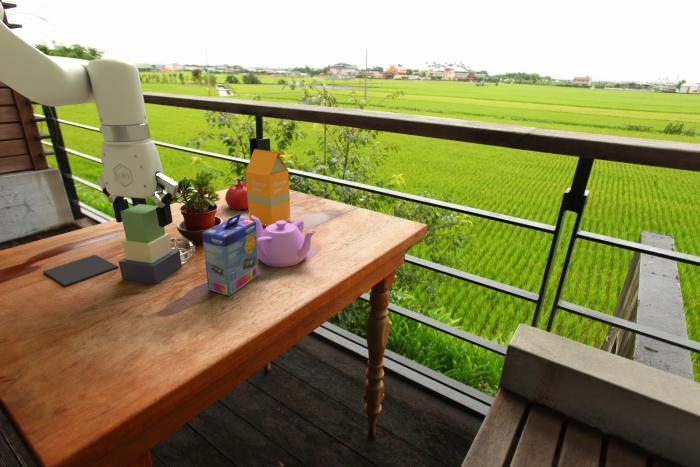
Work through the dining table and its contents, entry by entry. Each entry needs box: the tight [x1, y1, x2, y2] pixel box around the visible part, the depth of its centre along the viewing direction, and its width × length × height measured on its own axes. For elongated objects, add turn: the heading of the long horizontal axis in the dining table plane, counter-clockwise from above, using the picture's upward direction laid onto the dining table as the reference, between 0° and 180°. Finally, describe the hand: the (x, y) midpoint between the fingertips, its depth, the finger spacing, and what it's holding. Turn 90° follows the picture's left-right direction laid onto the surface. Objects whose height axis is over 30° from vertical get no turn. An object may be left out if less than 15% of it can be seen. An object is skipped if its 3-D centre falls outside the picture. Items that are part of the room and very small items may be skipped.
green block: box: [121, 203, 166, 243], centre depth 76 cm, size 5×5×6 cm
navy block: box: [117, 248, 183, 285], centre depth 80 cm, size 8×8×4 cm
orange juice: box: [245, 148, 291, 227], centre depth 107 cm, size 8×9×20 cm
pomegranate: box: [224, 178, 248, 211], centre depth 120 cm, size 10×10×9 cm
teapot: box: [251, 215, 317, 268], centre depth 87 cm, size 12×14×9 cm
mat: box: [42, 254, 119, 288], centre depth 81 cm, size 10×10×1 cm
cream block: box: [122, 232, 173, 263], centre depth 78 cm, size 6×6×4 cm
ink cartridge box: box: [201, 212, 259, 297], centre depth 74 cm, size 10×6×14 cm, turn 158°
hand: (144, 222), depth 76 cm, fingers open, 9 cm apart
